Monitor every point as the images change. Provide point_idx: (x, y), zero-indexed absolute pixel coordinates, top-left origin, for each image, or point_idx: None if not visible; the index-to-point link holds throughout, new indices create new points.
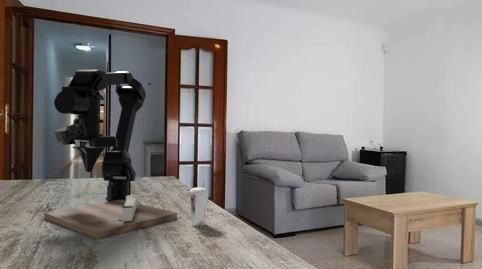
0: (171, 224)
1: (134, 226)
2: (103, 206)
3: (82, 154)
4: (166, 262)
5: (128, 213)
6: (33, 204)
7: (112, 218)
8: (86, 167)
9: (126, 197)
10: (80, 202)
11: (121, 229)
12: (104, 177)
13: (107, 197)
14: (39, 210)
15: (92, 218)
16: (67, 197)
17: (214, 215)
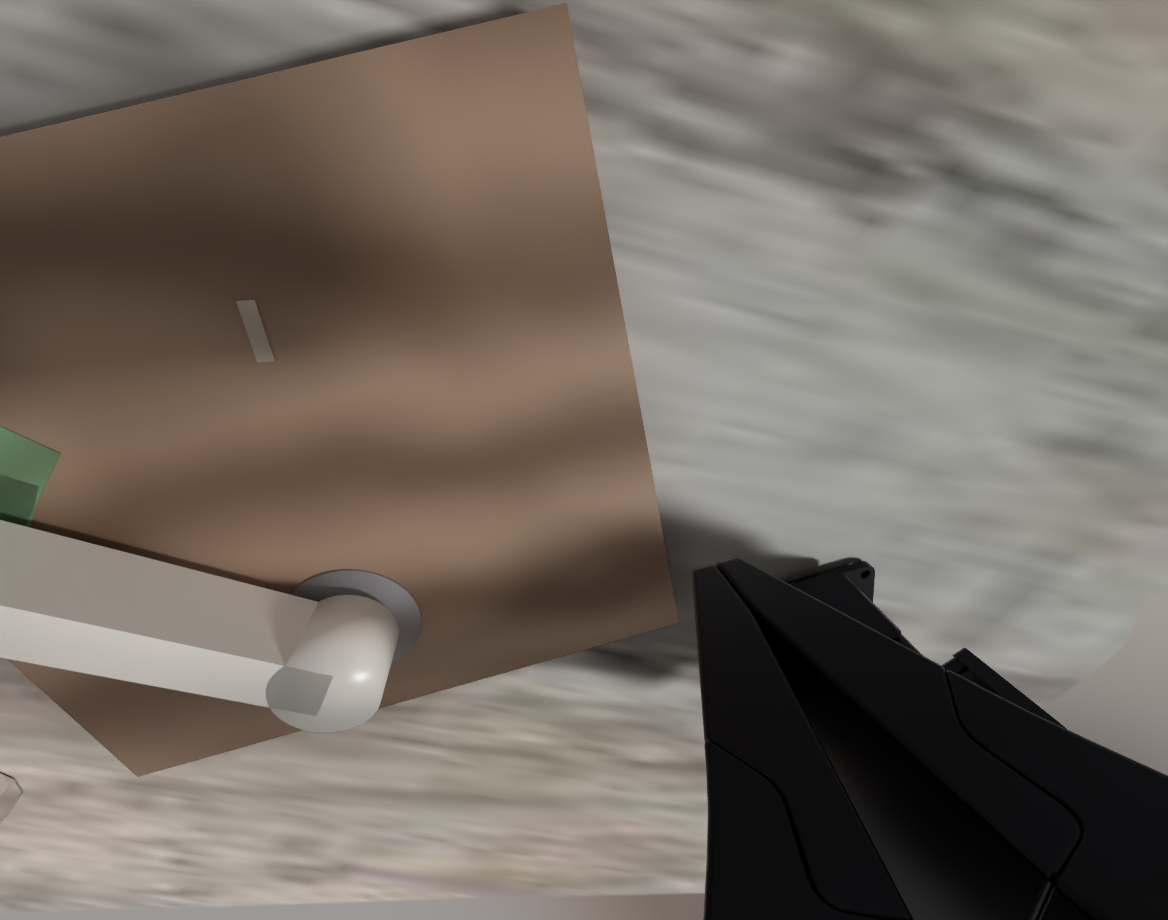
0: (26, 699)
1: None
2: (538, 494)
3: (1046, 852)
4: None
5: None
6: (1139, 86)
7: (90, 458)
8: (723, 607)
9: (313, 654)
10: (909, 417)
11: None
12: (978, 671)
13: (835, 575)
14: (893, 74)
15: (139, 334)
16: (1124, 379)
17: (168, 867)
